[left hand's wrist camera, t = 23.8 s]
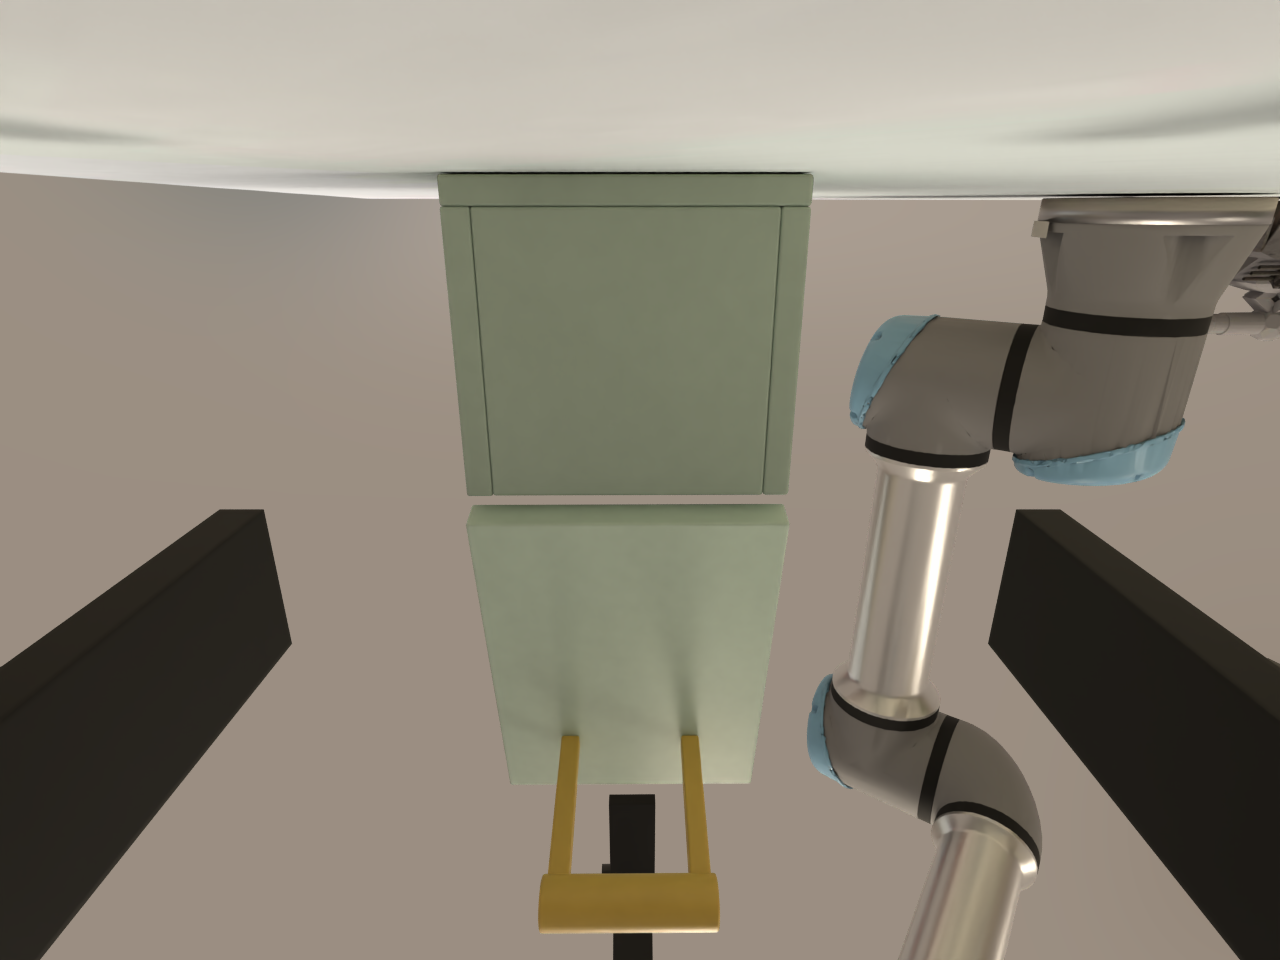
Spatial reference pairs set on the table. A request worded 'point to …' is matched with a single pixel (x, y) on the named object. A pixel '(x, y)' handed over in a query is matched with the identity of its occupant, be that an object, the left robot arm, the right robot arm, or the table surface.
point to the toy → (1257, 290)
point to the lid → (629, 675)
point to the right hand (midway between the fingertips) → (631, 905)
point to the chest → (626, 330)
